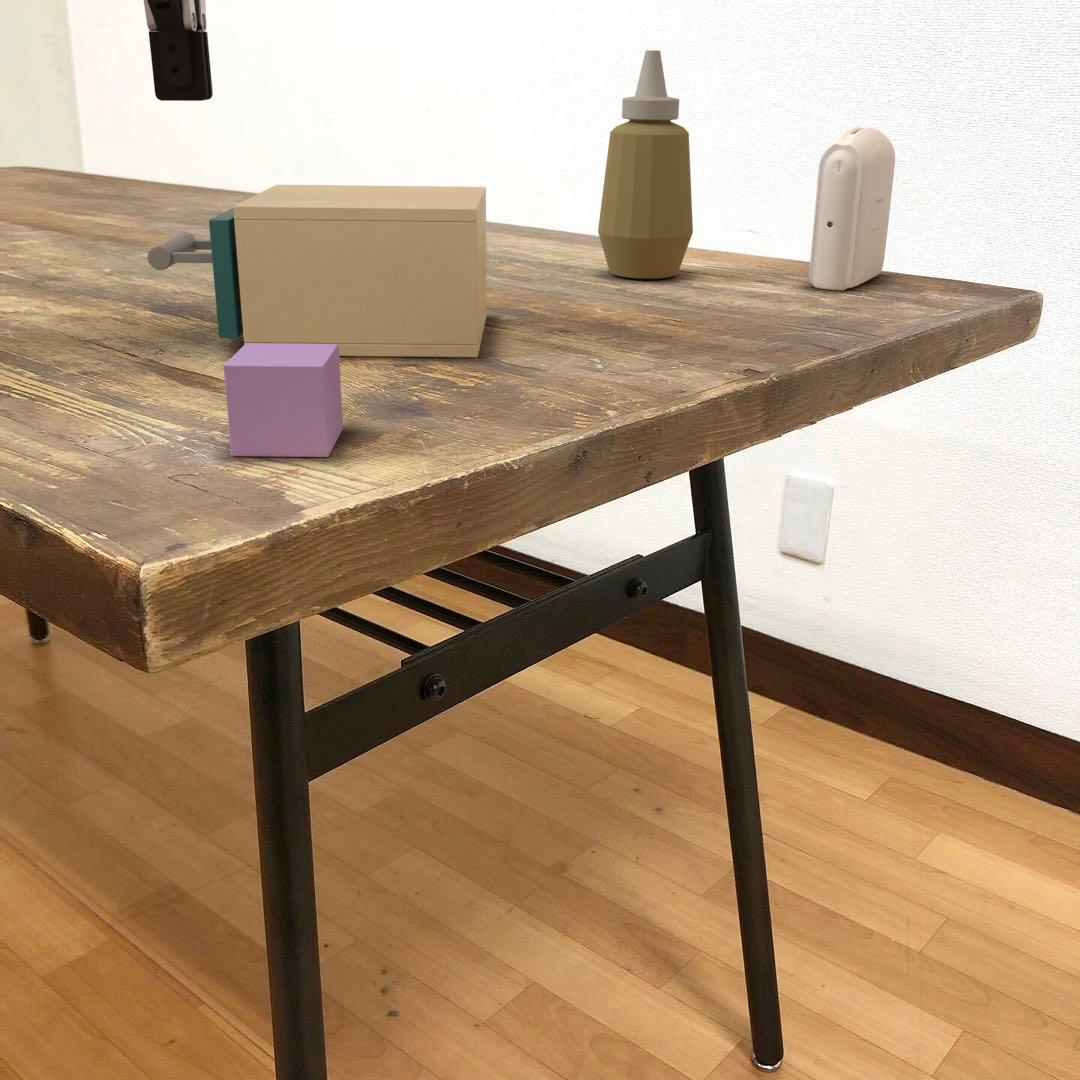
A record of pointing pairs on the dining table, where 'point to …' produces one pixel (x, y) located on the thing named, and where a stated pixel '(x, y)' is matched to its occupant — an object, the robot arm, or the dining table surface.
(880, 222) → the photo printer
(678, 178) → the squeeze bottle
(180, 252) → the drawer
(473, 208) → the drawer cabinet
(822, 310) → the dining table surface
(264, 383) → the lavender foam cube
